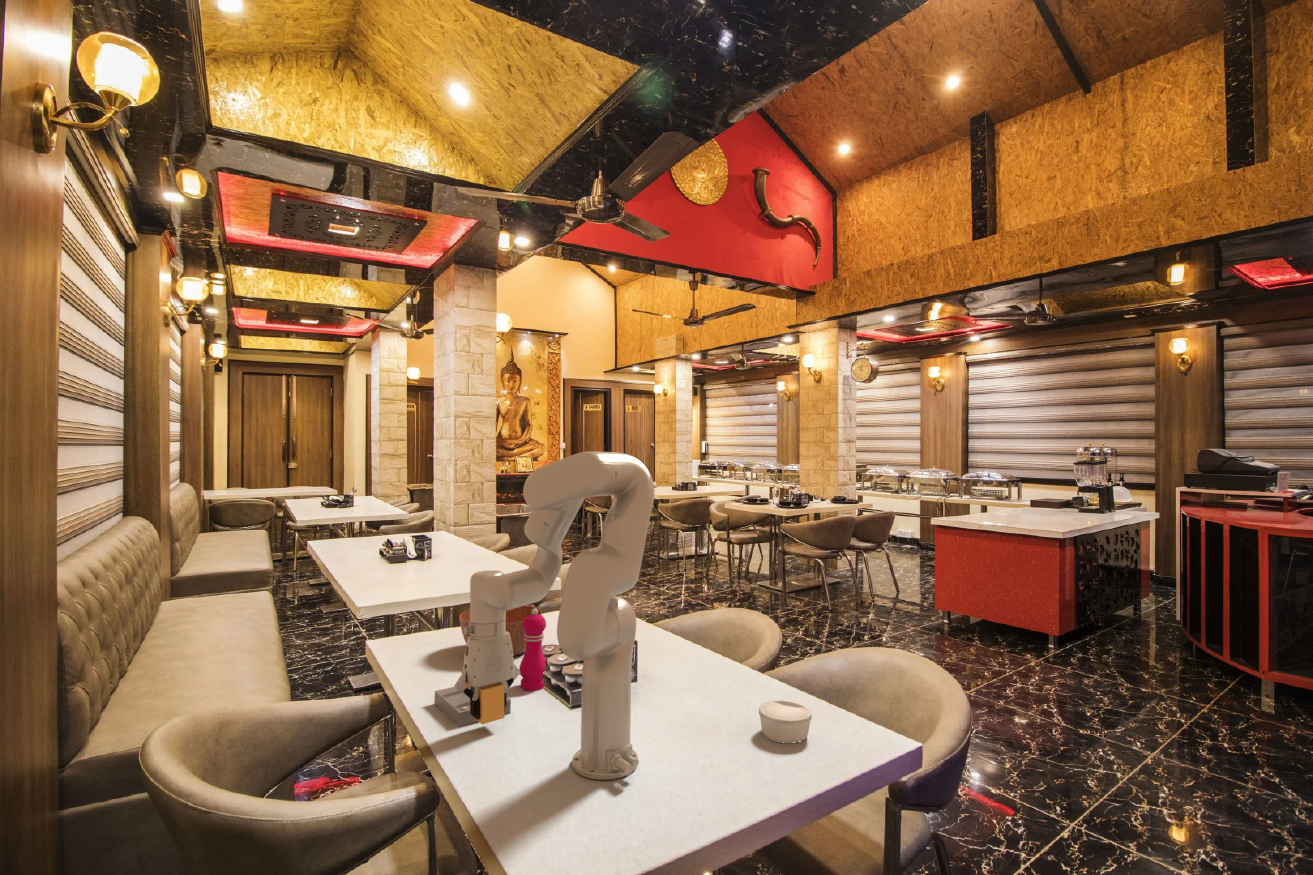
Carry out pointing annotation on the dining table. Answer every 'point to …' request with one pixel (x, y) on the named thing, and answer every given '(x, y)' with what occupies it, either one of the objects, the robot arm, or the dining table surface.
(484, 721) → the upright wooden block
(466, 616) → the bowl
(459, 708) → the peg board base
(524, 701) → the dining table surface
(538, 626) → the pepper mill
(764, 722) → the ramekin
